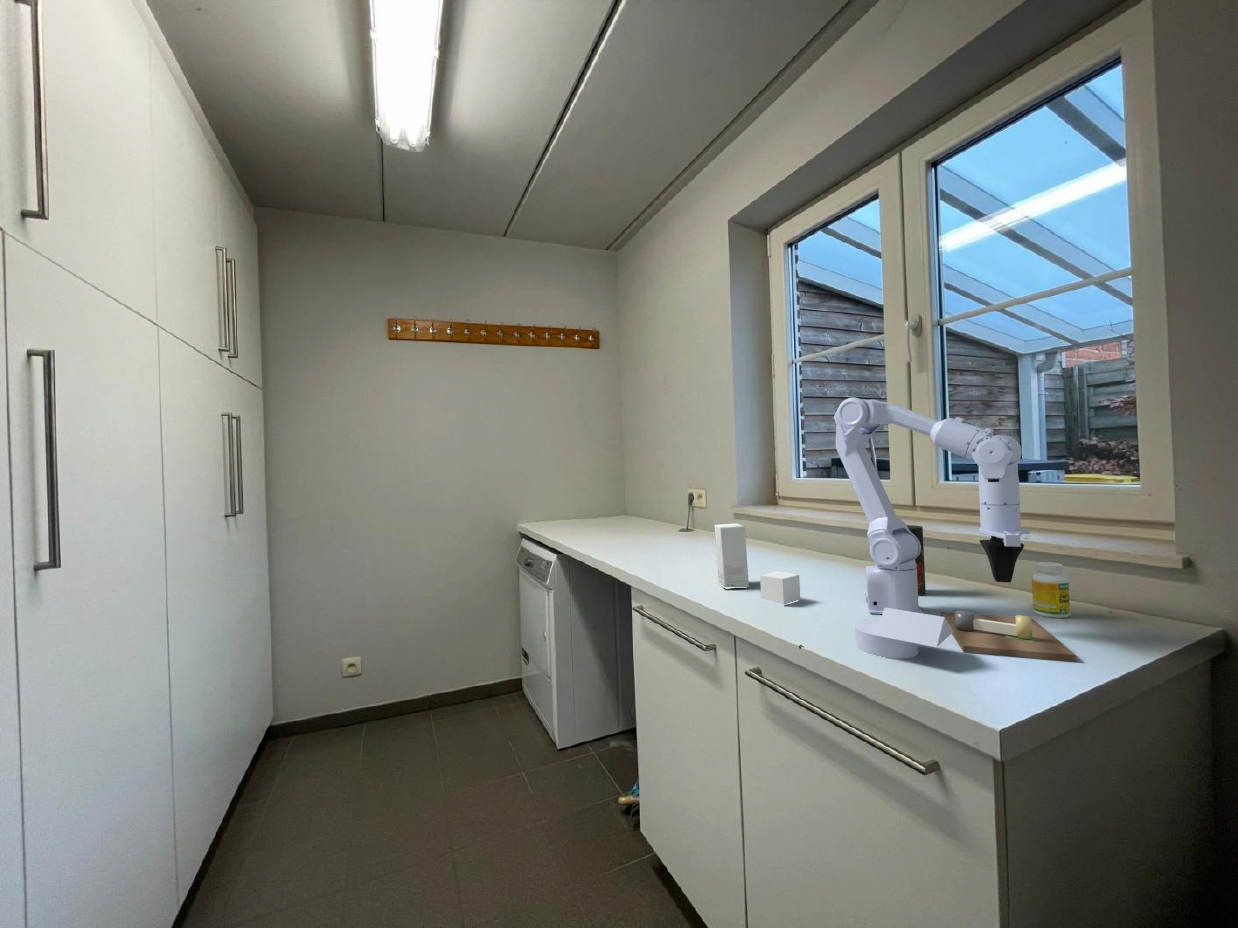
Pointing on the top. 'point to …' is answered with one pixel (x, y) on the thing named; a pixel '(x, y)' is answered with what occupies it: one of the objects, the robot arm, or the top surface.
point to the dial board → (1010, 641)
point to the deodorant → (919, 559)
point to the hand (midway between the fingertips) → (1002, 581)
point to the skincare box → (731, 555)
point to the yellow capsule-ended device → (994, 625)
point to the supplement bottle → (1050, 591)
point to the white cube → (780, 587)
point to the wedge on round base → (900, 633)
